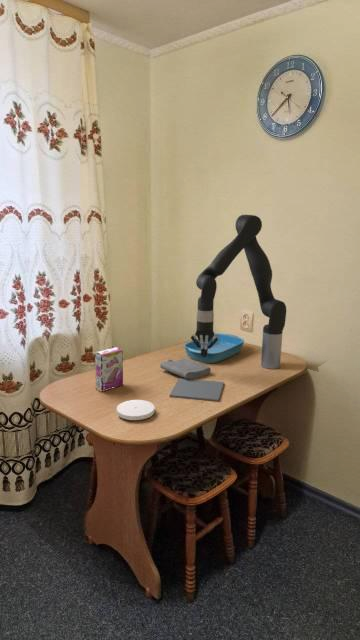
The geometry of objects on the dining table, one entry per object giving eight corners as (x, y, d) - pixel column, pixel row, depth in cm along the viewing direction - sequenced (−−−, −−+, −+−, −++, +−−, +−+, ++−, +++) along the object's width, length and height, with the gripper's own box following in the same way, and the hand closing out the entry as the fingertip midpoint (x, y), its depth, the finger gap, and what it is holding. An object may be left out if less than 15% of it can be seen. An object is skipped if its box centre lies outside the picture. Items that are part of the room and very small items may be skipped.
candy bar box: (102, 392, 179) (101, 354, 175) (95, 389, 183) (94, 352, 179) (124, 385, 187) (123, 349, 183) (117, 382, 190) (116, 346, 186)
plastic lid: (155, 422, 155) (155, 415, 155) (115, 423, 154) (115, 416, 154) (154, 405, 169) (154, 399, 168) (117, 406, 168) (117, 400, 167)
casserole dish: (211, 368, 209) (212, 354, 207) (176, 358, 222) (176, 345, 220) (250, 350, 236) (251, 338, 235) (216, 343, 250) (217, 331, 248)
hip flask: (186, 372, 190) (156, 361, 204) (185, 381, 191) (156, 369, 205) (210, 367, 201) (181, 356, 215) (210, 375, 201) (181, 364, 216)
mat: (179, 379, 194) (179, 378, 194) (223, 383, 190) (223, 382, 190) (169, 396, 176) (169, 395, 176) (218, 401, 172) (218, 399, 172)
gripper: (220, 318, 196) (219, 355, 200) (192, 316, 198) (191, 352, 203) (218, 322, 189) (217, 360, 193) (189, 320, 191) (188, 357, 195)
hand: (204, 356), depth 198 cm, fingers closed
